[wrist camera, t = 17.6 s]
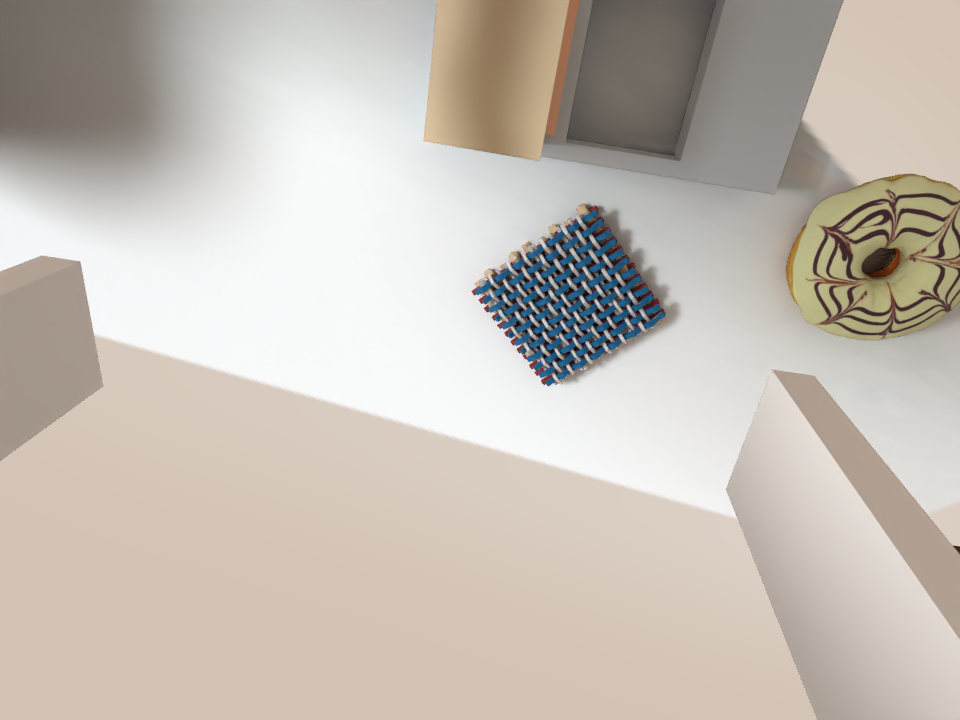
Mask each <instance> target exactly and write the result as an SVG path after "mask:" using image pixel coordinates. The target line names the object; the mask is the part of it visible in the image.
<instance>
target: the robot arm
mask: <svg viewBox="0 0 960 720" xmlns="http://www.w3.org/2000/svg"><path fill="white" fill-rule="evenodd" d="M101 387H103V383H102V377H101V371H100V366H99V361H98V355H97V350H96V344H95V339H94V333H93V328H92V323H91V317H90V312H89V306H88V301H87V295H86V290H85V284H84V279H83V274H82V268H81V263H80V261H73V260H67V259H60V258H54V257H48V256H40V257H37V258H35V259H32V260H29V261H27V262H24V263H22V264H19V265H16V266H14V267H11V268H9V269H6V270H3V271H1V272H0V461H1V460H2V459H3V458H5V457H6V456H8V455H9V454H10V453H12V452H13V451H14V450H16V449H17V448H19V447H20V446H21V445H23V444H24V443H25V442H27V441H28V440H30V439H31V438H32V437H34V436H35V435H37V434H38V433H39V432H41V431H42V430H43V429H44V428H46V427H47V426H49V425H50V424H52V423H53V422H54V421H56V420H57V419H59V418H60V417H61V416H63V415H64V414H66V413H67V412H68V411H70V410H71V409H72V408H74V407H75V406H76V405H78V404H79V403H81V402H82V401H83V400H85V399H86V398H88V397H89V396H90V395H92V394H93V393H94V392H96V391H97V390H98V389H100V388H101ZM726 491H727V493H728V496H729V498H730V501H731V503H732V506H733V508H734V511H735V513H736V516H737V518H738V521H739V523H740V526H741V528H742V531H743V533H744V536H745V539H746V541H747V544H748V546H749V548H750V551H751V554H752V556H753V559H754V561H755V564H756V566H757V569H758V571H759V574H760V576H761V579H762V581H763V584H764V586H765V589H766V591H767V594H768V596H769V599H770V602H771V604H772V607H773V609H774V612H775V614H776V617H777V619H778V622H779V624H780V627H781V629H782V632H783V634H784V637H785V639H786V642H787V645H788V647H789V650H790V652H791V655H792V657H793V660H794V662H795V665H796V667H797V670H798V672H799V675H800V677H801V680H802V682H803V685H804V687H805V690H806V693H807V695H808V698H809V700H810V703H811V705H812V708H813V710H814V713H815V715H816V718H817V720H960V547H959V546H953V545H952V544H951V543H950V542H949V541H948V539H947V538H946V537H945V536H944V535H943V533H942V532H941V531H940V530H939V528H938V527H937V526H936V525H935V524H934V522H933V521H932V520H931V519H930V517H929V516H928V515H927V514H926V512H925V511H924V510H923V509H922V508H921V506H920V505H919V504H918V503H917V501H916V500H915V499H914V498H913V497H912V495H911V494H910V493H909V492H908V490H907V489H906V488H905V487H904V485H903V484H902V483H901V482H900V481H899V479H898V478H897V477H896V476H895V474H894V473H893V472H892V471H891V470H890V468H889V467H888V466H887V465H886V463H885V462H884V461H883V460H882V459H881V457H880V456H879V455H878V454H877V452H876V451H875V450H874V449H873V447H872V446H871V445H870V444H869V443H868V441H867V440H866V439H865V438H864V436H863V435H862V434H861V433H860V432H859V430H858V429H857V428H856V427H855V425H854V424H853V423H852V422H851V421H850V419H849V418H848V417H847V416H846V414H845V413H844V412H843V411H842V409H841V408H840V407H839V406H838V405H837V403H836V402H835V401H834V400H833V398H832V397H831V396H830V395H829V394H828V392H827V391H826V390H825V389H824V387H823V386H822V385H821V384H820V382H819V381H818V380H817V379H816V378H815V376H810V375H803V374H797V373H790V372H784V371H778V370H771V373H770V376H769V378H768V381H767V383H766V386H765V389H764V391H763V394H762V396H761V399H760V402H759V404H758V407H757V409H756V412H755V415H754V417H753V420H752V422H751V425H750V428H749V430H748V433H747V436H746V438H745V441H744V443H743V446H742V449H741V451H740V454H739V456H738V459H737V462H736V464H735V467H734V469H733V472H732V475H731V477H730V480H729V482H728V485H727V488H726Z"/></svg>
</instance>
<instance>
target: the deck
mask: <svg viewBox="0 0 960 720" xmlns="http://www.w3.org/2000/svg"><path fill="white" fill-rule="evenodd" d="M842 3H843V0H716V2H715V6H714V10H713V13H712V17H711V21H710V24H709V28H708V32H707V35H706V39H705V43H704V46H703V50H702V54H701V57H700V61H699V65H698V68H697V72H696V76H695V79H694V83H693V87H692V90H691V94H690V98H689V101H688V105H687V109H686V112H685V116H684V120H683V123H682V127H681V131H680V134H679V138H678V142H677V145H676V149H675V153H674V156H673V155H666V154H660V153H654V152H648V151H642V150H636V149H629V148H623V147H617V146H611V145H605V144H599V143H593V142H586V141H580V140H574V139H568V138H567V133H568V128H569V122H570V117H571V112H572V107H573V102H574V97H575V91H576V86H577V81H578V76H579V71H580V66H581V60H582V55H583V50H584V45H585V40H586V35H587V29H588V24H589V19H590V14H591V9H592V4H593V0H570V2H569V7H568V13H567V18H566V24H565V29H564V35H563V40H562V45H561V51H560V56H559V62H558V67H557V73H556V78H555V83H554V89H553V94H552V100H551V105H550V111H549V116H548V121H547V127H546V132H545V138H544V143H543V148H542V153H541V156H543V157H549V158H555V159H561V160H568V161H574V162H580V163H586V164H592V165H598V166H604V167H610V168H616V169H622V170H628V171H635V172H641V173H647V174H653V175H659V176H665V177H671V178H677V179H683V180H689V181H696V182H702V183H708V184H714V185H720V186H726V187H732V188H738V189H744V190H750V191H757V192H763V193H769V194H775V192H776V189H777V186H778V184H779V181H780V178H781V175H782V172H783V170H784V167H785V164H786V161H787V158H788V155H789V153H790V150H791V147H792V144H793V141H794V139H795V136H796V133H797V130H798V127H799V124H800V122H801V119H802V116H803V113H804V110H805V107H806V105H807V102H808V99H809V96H810V93H811V91H812V87H813V85H814V82H815V79H816V76H817V74H818V71H819V68H820V65H821V62H822V59H823V57H824V54H825V51H826V48H827V45H828V43H829V40H830V37H831V34H832V31H833V28H834V26H835V23H836V20H837V17H838V14H839V11H840V8H841V6H842Z"/></svg>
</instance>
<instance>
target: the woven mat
mask: <svg viewBox="0 0 960 720" xmlns="http://www.w3.org/2000/svg"><path fill="white" fill-rule="evenodd" d="M577 211H578V213H579V214H576V215H574V216H575V217H576V219H575V220H574V221H572V220H571V219H570V218H569V219H567V220H566V221H565V222H564V223H565V225H566V227H565V226H564V224H562V225H560V227H561V229H560V227H559V226H558V227H557V226H556V225H554V224H553V225H551V226H550V227H549V234H548V237H549V238H548V239H547V238H545V237H542V238H540V239H539V245H538V246H535V244H532V245H531V244H530V242H529V241H528V242H526V243H525V244H524V245H522V247H523V249H524V250H525V252H526V254H525V253H524V251H521V254H522V256H519V254H518V252H517V251H516V252H511V253H510V255H509V258H510V259H511V261H512V262H511V263H509V261H507V262H506V263H504V264H503V265H501V266H500V267H501V269H502V270H501V271H499V270H496V271H495V272H496V273H497V274H495V273H494V272H493V271H492V270H490V269H487V270H486V271H485V278H487V279H488V280H487V281H485V280H484V279H483V278H482V279H480V280H479V281H477V282H476V283H475V285H476V286H477V288H476V289H474V290H473V291H472V293H473V294H474V295H476V294H477V295H479V294H482V295H483V297H482V298H480V299H479V301H480V303H481V304H482V303H484V304H485V305H486V304H488V305H487V306H486V307H485V308H484V309H485V311H486V312H489V311H490V312H494V313H496V314H495V315H493V316H492V318H493V320H494V321H495V320H496V321H498V322H499V321H500V320H501V319H502V321H503V322H501V323H500V324H498V325H497V326H498V327H499V328H500V329H501V328H503V329H506V328H508V329H509V330H507V331H506V332H505V335H506V336H507V337H509V338H512V337H513V336H515V339H513V340H511V343H512V344H513V345H516V346H517V345H520V344H521V346H520V347H519V348H517V351H518V352H519V353H522V355H523V354H524V355H523V357H524V358H525V359H527V360H528V362H530V361H533V363H531V364H530V365H529V366H530V368H531V369H533V368H534V369H535V370H536V372H534V373H535V374H536V375H537V376H538V375H539V376H540V377H541V378H542V377H545V376H546V377H545V378H544V379H542V380H541V382H542V383H543V384H544V385H545V384H547V386H550V385H551V384H552V383H555V385H557V384H558V383H559V384H563V382H562V381H561V380H560V379H563V378H564V379H567V378H568V377H569V373H570V372H571V373H572V374H573V375H575V373H576V372H574V371H573V370H576V369H579V370H580V371H581V370H583V368H584V370H586V369H587V367H586V365H585V364H591V365H592V364H593V363H594V362H593V361H594V360H595V359H598V360H599V359H601V358H600V356H601V355H602V354H603V353H605V356H606V355H609V354H612V352H611V351H610V350H611V349H614V348H616V350H617V349H618V348H619V346H618V345H619V344H620V343H621V342H623V343H624V344H627V341H631V340H633V338H634V337H635V336H636V337H638V336H640V335H639V333H640V332H644V333H645V332H648V331H647V330H646V329H647V328H650V327H651V329H653V328H654V325H659V324H660V323H661V322H662V321H663V320H662V318H663V317H665V312H664V310H663V309H661V308H660V306H659V305H658V304H659V303H660V302H659V301H658V299H655V300H654V301H652V302H650V301H651V300H652V299H653V298H654V297H653V294H652V292H651V291H649V290H648V288H647V287H648V286H647V285H646V283H643V284H641V285H639V283H638V282H640V281H641V280H642V279H641V276H640V275H639V273H638V274H636V275H635V276H633V274H635V273H636V272H637V271H636V270H635V267H636V266H635V265H634V263H632V264H629V265H627V266H626V264H627V263H628V262H629V258H628V256H627V255H626V256H624V257H622V258H621V255H623V254H624V252H623V248H622V247H621V245H620V246H618V247H617V248H615V247H614V246H613V245H615V244H616V243H617V240H616V238H615V237H614V236H613V237H612V238H610V239H609V238H608V236H610V235H611V230H610V228H609V227H607V228H605V229H602V228H601V225H603V224H604V220H603V218H602V217H600V218H598V219H597V220H596V219H595V216H596V215H598V213H597V211H598V208H597V206H594V207H592V208H590V209H588V208H587V207H586V205H585V204H582V205H579V206H578V208H577ZM584 222H585V223H586V224H587V225H588V226H586V225H585V224H584ZM580 226H581V227H582V228H583V229H582V230H581V231H580V229H579V227H580ZM569 233H571V234H572V236H571V235H570V234H569ZM591 233H594V235H592V234H591ZM565 235H566V236H567V238H568V239H567V238H566V236H565ZM587 236H589V238H587V239H586V238H585V237H587ZM597 242H600V244H601V245H599V244H598V243H597ZM552 245H555V247H553V248H552ZM572 246H574V247H575V248H573V247H572ZM593 246H595V247H596V248H595V249H593ZM542 251H543V252H544V254H543V255H542V254H541V252H542ZM605 252H606V253H607V254H605ZM559 254H561V255H562V257H561V258H560V256H559ZM579 254H580V255H581V258H580V257H579ZM599 256H602V257H601V258H599ZM530 259H531V260H532V261H533V263H531V262H530V261H529V260H530ZM611 260H612V261H613V264H612V263H611V262H610V261H611ZM547 261H550V262H551V263H552V264H550V265H549V264H548V263H547ZM571 261H572V262H571ZM526 263H527V264H528V265H529V266H528V265H527V264H526ZM567 263H568V264H569V266H568V267H567V266H566V265H565V264H567ZM587 264H588V265H589V266H587V267H586V265H587ZM606 264H607V265H608V267H605V265H606ZM516 269H518V270H519V271H520V272H519V273H517V272H516V271H515V270H516ZM538 269H539V271H540V272H538ZM557 269H558V271H559V272H558V273H557V274H556V272H555V271H556V270H557ZM577 270H578V271H579V272H578V271H577ZM597 271H598V272H597ZM533 272H534V273H535V275H534V274H533ZM572 272H574V273H575V275H572ZM592 272H593V274H592V275H591V273H592ZM613 274H614V275H613ZM612 275H613V276H612ZM506 276H507V278H508V280H506V278H505V277H506ZM524 277H525V278H526V279H527V280H526V281H524V280H523V278H524ZM543 278H545V279H546V281H545V280H544V279H543ZM563 279H565V281H563V282H562V281H561V280H563ZM623 279H624V280H625V282H624V281H623ZM501 280H502V281H503V282H504V283H503V282H502V281H501ZM603 280H604V282H603ZM539 281H540V282H541V283H540V282H539ZM578 282H581V283H580V284H579V283H578ZM599 283H600V285H599ZM618 283H620V285H618ZM492 285H493V286H494V287H495V289H493V290H492V289H491V286H492ZM512 285H513V286H514V289H513V288H512V287H511V286H512ZM530 287H533V289H530ZM570 287H571V289H572V290H569V289H568V288H570ZM609 289H610V291H609ZM630 289H631V290H630ZM526 290H527V292H526ZM585 290H586V291H587V292H588V293H585V292H584V291H585ZM604 290H605V292H606V293H604ZM509 291H510V292H509ZM546 291H547V292H546ZM565 291H566V292H567V293H566V292H565ZM648 291H649V292H648ZM646 292H648V293H646ZM645 293H646V294H645ZM500 294H501V295H502V296H501V297H499V298H498V297H497V296H499V295H500ZM537 295H539V297H540V298H539V297H538V296H537ZM557 297H558V298H557ZM575 297H578V299H575ZM635 297H637V298H638V299H635ZM515 298H516V300H515ZM534 299H535V300H534ZM552 299H553V300H555V301H553V300H552ZM631 300H632V302H631ZM630 302H631V303H630ZM505 303H507V304H508V306H506V307H505V306H504V304H505ZM524 304H525V305H526V306H525V305H524ZM544 304H545V305H546V306H545V307H544ZM563 305H564V306H563ZM539 306H540V307H539ZM581 306H582V307H581ZM602 306H603V307H602ZM522 307H523V309H522ZM620 307H622V308H620ZM597 308H599V309H600V310H597ZM616 308H617V309H616ZM659 309H661V310H659ZM617 310H618V311H617ZM637 310H638V311H637ZM658 310H659V311H658ZM635 311H637V312H635ZM657 311H658V312H657ZM513 312H514V313H515V314H513V315H511V313H513ZM532 312H533V313H534V314H532ZM549 313H550V314H549ZM569 313H570V314H571V315H569ZM527 315H529V316H527ZM587 315H589V316H588V317H587ZM627 315H628V317H627ZM646 315H649V317H647V316H646ZM546 316H547V317H546ZM565 316H566V317H567V318H565ZM605 317H606V318H605ZM603 318H605V319H603ZM643 318H644V319H643ZM642 319H643V320H642ZM518 320H519V322H518V323H517V324H516V322H517V321H518ZM538 320H539V323H538V322H537V321H538ZM556 322H557V324H556ZM576 322H577V324H576ZM595 322H596V324H595V325H592V324H593V323H595ZM533 323H534V324H535V325H534V324H533ZM614 323H615V324H614ZM633 324H634V325H633ZM572 325H573V326H572ZM610 325H611V327H610V328H609V326H610ZM525 329H526V330H527V331H525V332H524V331H523V330H525ZM544 329H545V330H546V331H544ZM562 330H564V332H562V333H561V331H562ZM581 330H582V331H583V332H581ZM601 331H602V332H601ZM597 332H599V333H597ZM577 333H578V334H577ZM531 337H532V338H533V339H532V340H531V339H530V338H531ZM549 337H551V338H552V339H550V338H549ZM607 339H609V340H608V341H606V342H604V341H605V340H607ZM546 340H547V341H548V342H547V341H546ZM539 345H540V346H539ZM537 346H538V347H537ZM575 346H576V348H575V349H573V348H574V347H575ZM592 347H593V348H592ZM589 350H590V351H589ZM608 353H609V354H608ZM542 354H545V355H544V356H542ZM562 354H563V355H562ZM579 356H581V357H579ZM548 363H549V364H548ZM582 367H583V368H582ZM538 369H539V370H538ZM554 370H555V371H554Z"/></svg>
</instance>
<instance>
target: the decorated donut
mask: <svg viewBox="0 0 960 720" xmlns="http://www.w3.org/2000/svg"><path fill="white" fill-rule="evenodd" d="M878 248H887V249H893V248H895V250H896V254H895V256H894V258H893V260H892V261H891V263H890V264H889V265H888V266H887V267H884V268H885V269H883V270H882V269H881V270H880V271H877V272H872V273H870V274H866V273H864V272H863V271H862V263H863V261H864V260H865V259H866V258H867V257H868V256H869V255H871V254H872V253H873V252H875V251H876V250H877V249H878ZM786 273H787V281H788V285H789V287H790V291H791V294H792V296H793V299H794V300H795V302H796V303H797V304H798V305H799V307H800V309H801V312H802V314H803V318H804V319H805V320H806V321H807V322H809V323H811V324H813V325H814V326H817V327H819V328H820V329H822V330H824V331H826V332H828V333H831V334H834V335H837V336H843V337H847V338H851V339H858V340H884V339H889V338H895V337H900V336H905V335H908V334H910V333H913V332H915V331H919V330H923V329H925V328H927V327H928V326H930V325H932V324H933V323H935V322H937V321H938V320H939V319H940V318H941V317H942V316H944V315H945V314H946V313H948V312H949V311H951V310H952V309H953V308H954V307H955V306H956V305H957V304H958V303H959V302H960V191H959V190H958V189H957V188H956V187H954V186H953V185H951V184H949V183H946V182H941V181H935V180H931V179H929V178H927V177H925V176H919V175H915V174H902V175H895V176H892V177H887V178H881V179H877V180H874V181H871V182H867V183H864V184H862V185H860V186H858V187H856V188H854V189H851V190H849V191H846V192H842V193H838V194H835V195H833V196H831V197H828V198H826V199H824V200H823V201H822V202H820V203H819V204H818V205H817V206H816V208H815V209H814V210H813V211H812V213H811V215H810V217H809V218H808V221H807V223H806V225H805V226H803V228H802V230H801V232H800V234H799V235H798V237H797V238H796V241H795V243H794V244H793V247H792V249H791V252H790V255H789V257H788V262H787V266H786Z"/></svg>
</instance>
